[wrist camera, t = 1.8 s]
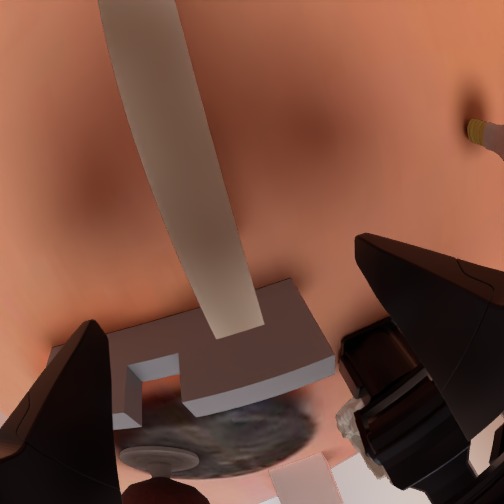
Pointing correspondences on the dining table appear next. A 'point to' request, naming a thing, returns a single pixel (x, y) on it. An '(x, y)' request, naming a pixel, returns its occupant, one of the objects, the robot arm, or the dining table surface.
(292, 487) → the milk
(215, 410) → the grey notched bar
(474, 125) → the light bulb
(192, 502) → the mate gourd
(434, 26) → the dining table surface
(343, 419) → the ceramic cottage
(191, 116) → the long wooden slat
